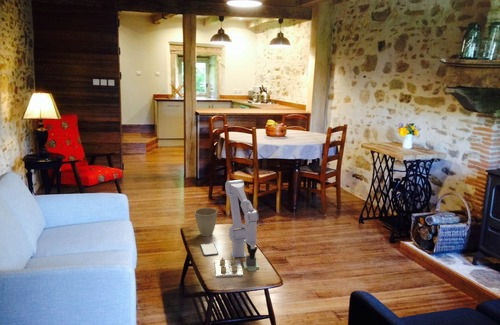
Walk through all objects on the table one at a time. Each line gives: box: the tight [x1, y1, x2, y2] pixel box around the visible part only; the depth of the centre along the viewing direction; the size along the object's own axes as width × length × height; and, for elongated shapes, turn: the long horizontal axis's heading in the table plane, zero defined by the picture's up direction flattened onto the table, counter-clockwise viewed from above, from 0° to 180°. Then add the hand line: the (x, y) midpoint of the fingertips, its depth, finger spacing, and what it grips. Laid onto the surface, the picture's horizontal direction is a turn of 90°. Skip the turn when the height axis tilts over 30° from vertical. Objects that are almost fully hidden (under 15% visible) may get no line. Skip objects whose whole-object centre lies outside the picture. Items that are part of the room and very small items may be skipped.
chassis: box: [214, 257, 244, 278], centre depth 226 cm, size 18×14×4 cm
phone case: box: [199, 242, 219, 257], centre depth 250 cm, size 9×2×16 cm
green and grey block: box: [242, 254, 260, 272], centre depth 229 cm, size 11×8×6 cm
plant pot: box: [194, 207, 219, 237], centre depth 274 cm, size 15×15×16 cm
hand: (251, 256), depth 228 cm, fingers open, 7 cm apart
